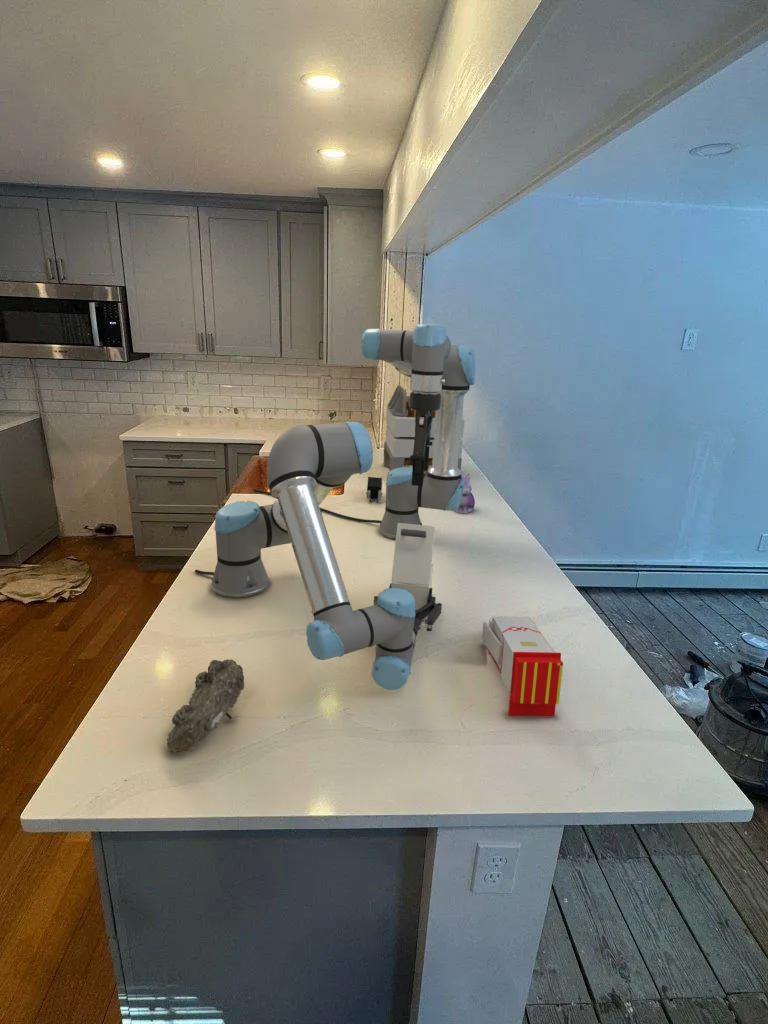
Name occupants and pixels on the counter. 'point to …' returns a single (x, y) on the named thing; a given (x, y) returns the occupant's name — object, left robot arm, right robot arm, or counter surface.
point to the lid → (413, 554)
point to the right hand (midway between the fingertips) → (420, 477)
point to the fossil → (206, 705)
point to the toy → (525, 665)
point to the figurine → (466, 497)
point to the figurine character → (374, 488)
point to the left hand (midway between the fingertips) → (411, 590)
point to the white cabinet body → (416, 591)
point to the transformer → (405, 432)
